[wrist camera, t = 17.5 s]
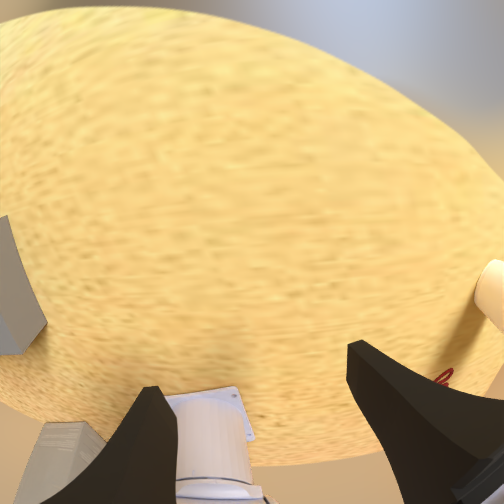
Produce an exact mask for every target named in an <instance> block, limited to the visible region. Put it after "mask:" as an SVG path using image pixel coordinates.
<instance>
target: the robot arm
mask: <svg viewBox="0 0 504 504" xmlns="http://www.w3.org/2000/svg"><path fill="white" fill-rule="evenodd" d="M346 381H347V383H348V385H349V388H350V390H351V392H352V395H353V397H354V399H355V401H356V403H357V405H358V406H359V408H360V410H361V411H362V413H363V415H364V416H365V418H366V420H367V421H368V423H369V425H370V426H371V428H372V430H373V431H374V433H375V434H376V436H377V438H378V439H379V441H380V443H381V445H382V447H383V449H384V451H385V453H386V456H387V458H388V460H389V462H390V465H391V467H392V470H393V472H394V475H395V477H396V480H397V483H398V486H399V489H400V491H401V494H402V498H403V501H404V504H504V400H498V399H491V398H485V397H480V396H476V395H472V394H468V393H464V392H461V391H458V390H454V389H451V388H449V387H446V386H444V385H441V384H439V383H436V382H434V381H432V380H429V379H427V378H425V377H423V376H421V375H419V374H417V373H415V372H414V371H412V370H410V369H408V368H407V367H405V366H403V365H401V364H400V363H398V362H396V361H395V360H393V359H392V358H390V357H388V356H387V355H385V354H384V353H382V352H381V351H379V350H378V349H376V348H375V347H373V346H371V345H370V344H368V343H367V342H365V341H364V340H359V341H356V342H353V343H350V344H348V351H347V376H346ZM233 394H235V395H233ZM253 440H255V435H254V432H253V430H252V427H251V424H250V422H249V419H248V416H247V413H246V411H245V408H244V405H243V402H242V399H241V396H240V393H239V391H238V388H237V387H234V386H230V387H225V388H220V389H214V390H208V391H201V392H194V393H187V394H180V395H171V396H164V395H163V394H162V392H161V390H160V388H159V387H158V386H151V387H144V388H143V389H142V391H141V392H140V394H139V395H138V397H137V398H136V400H135V402H134V403H133V405H132V406H131V408H130V410H129V411H128V413H127V414H126V416H125V418H124V419H123V421H122V422H121V424H120V425H119V427H118V428H117V430H116V431H115V433H114V434H113V436H112V437H111V438H110V440H109V441H108V442H107V444H106V445H105V447H104V448H103V449H102V450H101V452H100V453H99V454H98V455H97V457H96V458H95V459H94V460H93V461H92V462H91V463H90V464H89V465H88V466H87V468H86V469H85V470H83V471H82V472H81V473H80V474H79V475H78V476H77V477H76V478H75V479H74V480H73V481H72V482H70V483H69V484H68V485H67V486H65V487H64V488H63V489H62V490H60V491H59V492H57V493H56V494H55V495H53V496H52V497H50V498H48V499H47V500H45V501H43V502H41V503H40V504H279V503H278V502H277V501H276V500H275V499H274V498H273V497H271V496H270V495H263V493H262V488H261V486H260V485H254V482H253V477H252V471H251V465H250V459H249V453H248V447H247V442H250V441H253Z"/></svg>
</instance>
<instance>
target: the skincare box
mask: <svg viewBox="0 0 504 504" xmlns="http://www.w3.org/2000/svg"><path fill="white" fill-rule="evenodd" d="M106 444H107V443H106V442H105V441H104V440H103V439H102V438H101V437H100V436H99V435H98V434H97V433H96V432H95V431H94V430H93V429H92V428H91V427H90V426H89V425H88V424H87V423H86V422H69V423H45V424H44V426H43V428H42V430H41V433H40V436H39V437H38V440H37V442H36V444H35V446H34V449H33V451H32V454H31V456H30V459H29V461H28V463H27V466H26V469H25V471H24V474H23V477H22V479H21V482H20V485H19V488H18V491H17V494H16V497H15V500H14V503H13V504H40V503H41V502H43V501H45V500H47V499H48V498H50V497H52V496H53V495H55V494H56V493H57V492H59V491H60V490H62V489H63V488H64V487H65V486H67V485H68V484H69V483H70V482H72V481H73V480H74V479H75V478H76V477H77V476H78V475H79V474H80V473H81V472H82V471H83V470H85V469H86V468H87V466H88V465H89V464H90V463H91V462H92V461H93V460H94V459H95V458H96V457H97V455H98V454H99V453H100V452H101V450H102V449H103V448H104V447H105V445H106Z"/></svg>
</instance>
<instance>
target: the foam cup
mask: <svg viewBox="0 0 504 504" xmlns="http://www.w3.org/2000/svg"><path fill="white" fill-rule="evenodd" d="M474 302H475V304H476V306H477V307H478V308H479V309H480V310H481V311H482V312H483V313H484V314H485V315H486V316H487V317H488V318H489V319H490V320H491V321H492V322H493V324H494V325H495V326H496V327H497V328H498V329H499V330H500V331H501V332H502V333H503V334H504V262H503V261H500V260H496V259H494V260H492V261H491V262H489V263H488V265H487V266H486V267H485V269H484V270H483V271H482V273H481V276H480V278H479V280H478V282H477V285H476V289H475V293H474Z"/></svg>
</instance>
